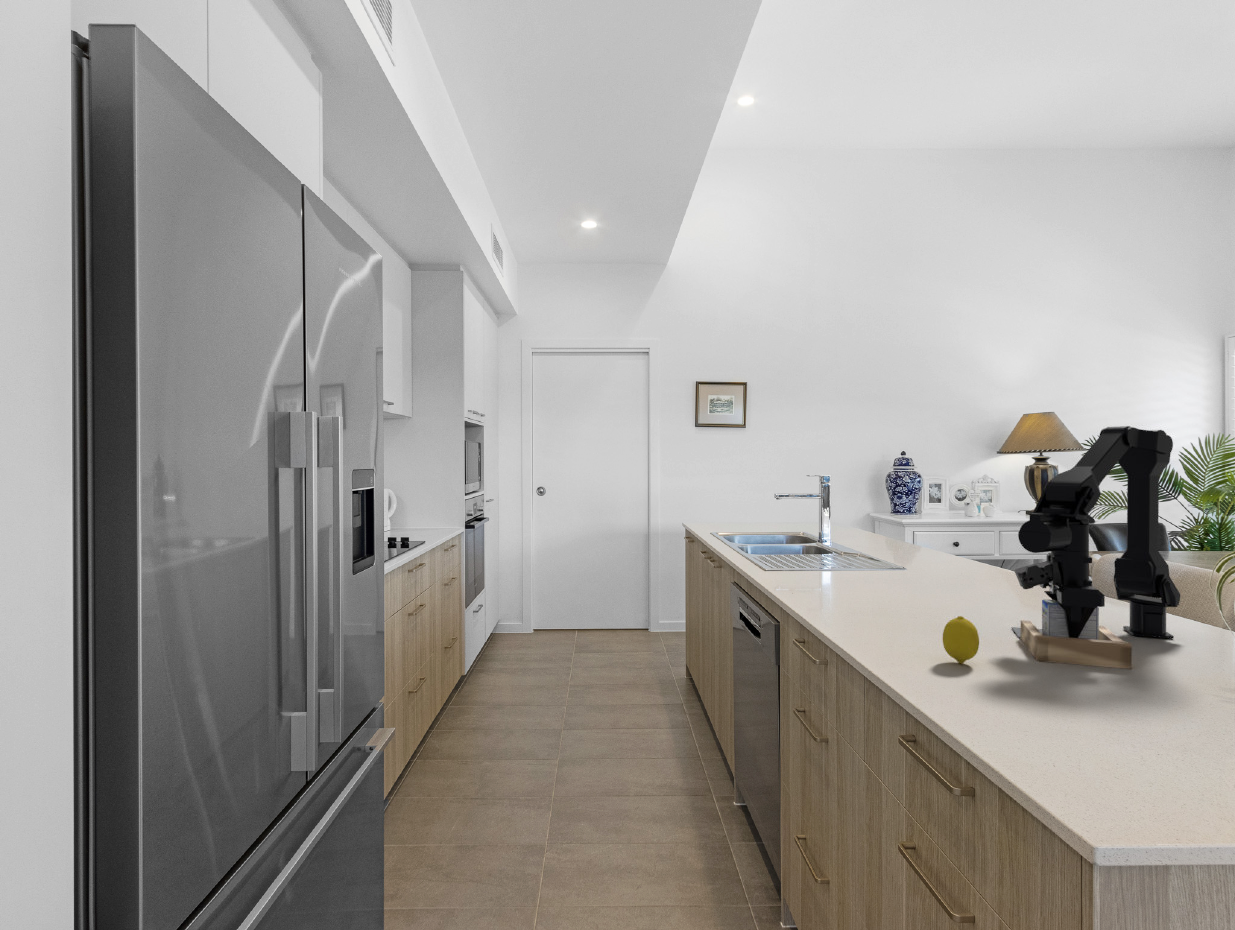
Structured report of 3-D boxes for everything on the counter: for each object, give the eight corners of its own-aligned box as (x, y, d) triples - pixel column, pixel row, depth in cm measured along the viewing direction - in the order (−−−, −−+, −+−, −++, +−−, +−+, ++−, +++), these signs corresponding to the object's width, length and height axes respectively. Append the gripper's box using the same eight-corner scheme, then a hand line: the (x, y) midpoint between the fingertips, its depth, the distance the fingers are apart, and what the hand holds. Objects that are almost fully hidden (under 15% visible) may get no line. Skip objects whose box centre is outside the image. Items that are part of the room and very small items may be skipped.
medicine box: (1091, 649, 125) (1091, 601, 125) (1099, 655, 121) (1099, 606, 121) (1041, 645, 128) (1041, 598, 128) (1047, 651, 123) (1047, 603, 123)
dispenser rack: (1020, 638, 133) (1020, 617, 133) (1103, 644, 128) (1103, 623, 128) (1037, 660, 118) (1037, 637, 118) (1131, 668, 113) (1131, 644, 113)
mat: (1011, 628, 140) (1011, 627, 140) (1081, 633, 136) (1081, 632, 136) (1018, 638, 133) (1018, 636, 133) (1092, 643, 129) (1092, 642, 129)
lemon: (983, 669, 113) (983, 620, 113) (947, 667, 115) (947, 619, 114) (973, 659, 119) (973, 613, 119) (938, 658, 120) (938, 611, 120)
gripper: (1009, 541, 136) (1009, 621, 136) (1028, 554, 118) (1028, 645, 118) (1076, 544, 132) (1076, 625, 132) (1105, 557, 114) (1105, 651, 114)
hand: (1069, 636), depth 124 cm, fingers closed on medicine box, 4 cm apart
